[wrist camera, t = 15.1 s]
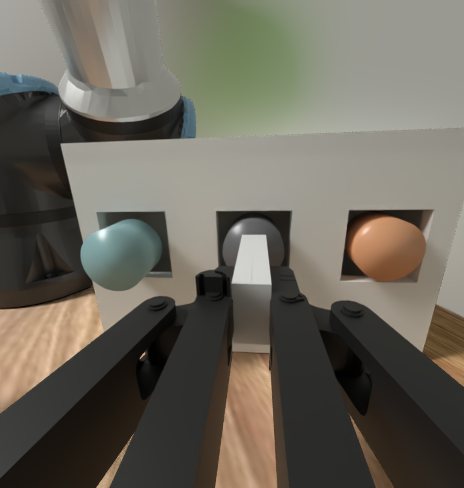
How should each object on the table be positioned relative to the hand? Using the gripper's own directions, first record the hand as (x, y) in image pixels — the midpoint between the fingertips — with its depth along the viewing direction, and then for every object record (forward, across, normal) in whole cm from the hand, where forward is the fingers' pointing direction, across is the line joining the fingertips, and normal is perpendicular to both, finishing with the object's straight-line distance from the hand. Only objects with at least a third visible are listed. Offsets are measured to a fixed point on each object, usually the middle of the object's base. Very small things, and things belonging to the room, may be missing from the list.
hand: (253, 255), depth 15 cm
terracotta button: (+2, +8, -2) cm, 9 cm away
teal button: (0, -9, -2) cm, 9 cm away
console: (+5, 0, -9) cm, 10 cm away
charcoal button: (+2, 0, -2) cm, 3 cm away
